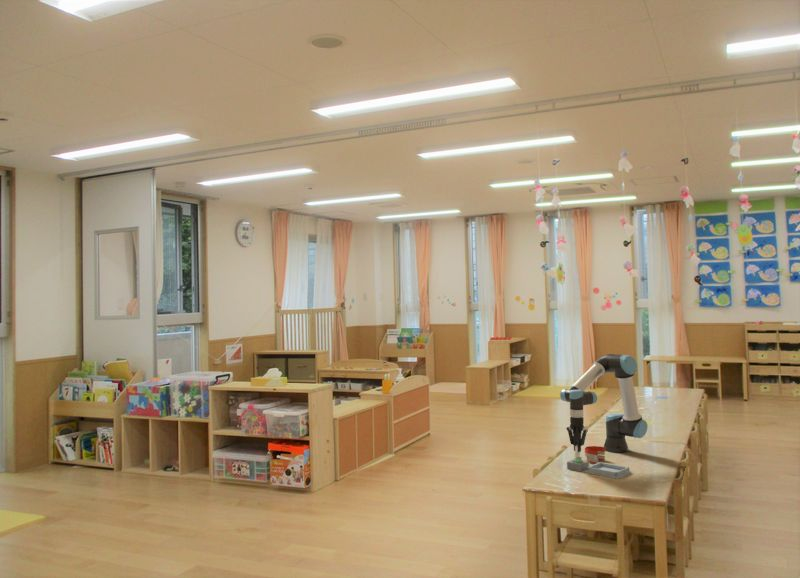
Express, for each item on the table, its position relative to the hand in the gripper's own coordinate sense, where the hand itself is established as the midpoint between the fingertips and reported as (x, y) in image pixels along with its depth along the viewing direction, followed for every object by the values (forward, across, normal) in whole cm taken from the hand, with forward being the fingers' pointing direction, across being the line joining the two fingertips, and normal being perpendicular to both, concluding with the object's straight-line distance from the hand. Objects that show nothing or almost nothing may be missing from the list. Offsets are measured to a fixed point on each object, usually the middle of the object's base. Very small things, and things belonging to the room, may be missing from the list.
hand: (577, 456), depth 368 cm
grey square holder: (+7, 0, 0) cm, 7 cm away
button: (+5, 0, 0) cm, 5 cm away
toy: (+7, -2, +22) cm, 23 cm away
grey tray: (+7, +17, +4) cm, 19 cm away
